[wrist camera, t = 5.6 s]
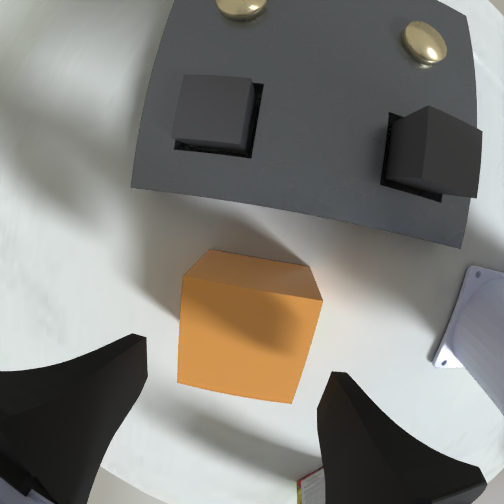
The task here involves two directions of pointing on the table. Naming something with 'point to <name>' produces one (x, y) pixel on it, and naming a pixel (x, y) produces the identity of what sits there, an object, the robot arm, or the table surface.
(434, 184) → the block
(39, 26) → the table surface
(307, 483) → the snack box
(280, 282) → the cap
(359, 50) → the grey flat slab
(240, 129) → the dark grey block
